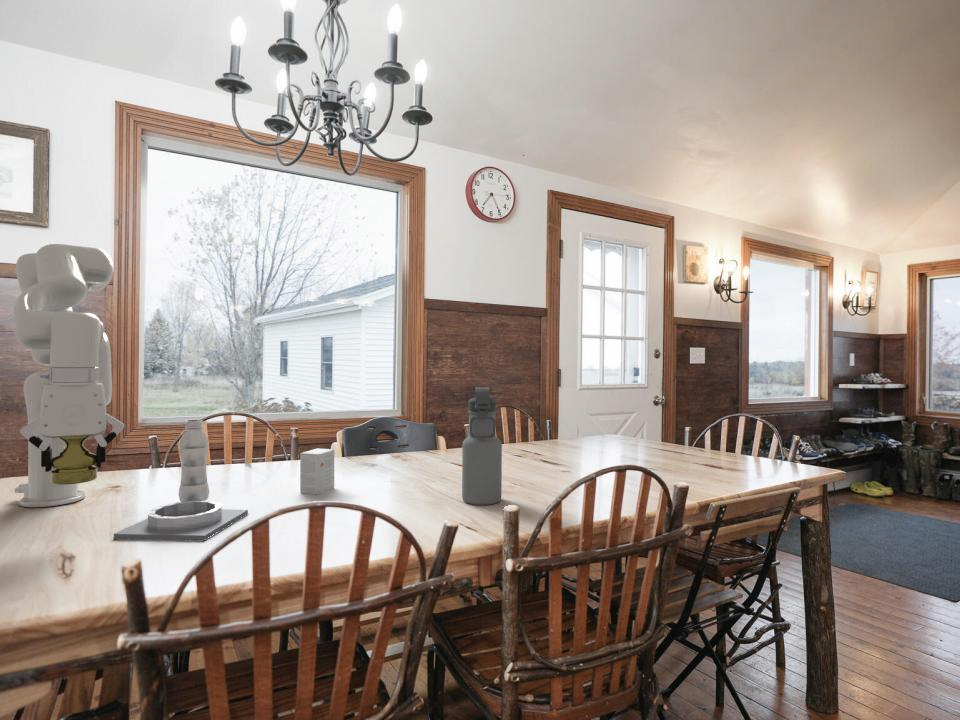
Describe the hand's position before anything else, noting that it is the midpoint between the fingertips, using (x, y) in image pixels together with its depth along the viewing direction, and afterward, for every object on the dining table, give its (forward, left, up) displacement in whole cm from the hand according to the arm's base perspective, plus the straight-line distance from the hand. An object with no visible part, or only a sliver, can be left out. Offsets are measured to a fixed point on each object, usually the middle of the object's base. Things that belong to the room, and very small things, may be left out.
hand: (74, 467), depth 107 cm
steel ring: (+16, +10, -14) cm, 24 cm away
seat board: (+16, +10, -14) cm, 24 cm away
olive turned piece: (0, 0, -3) cm, 3 cm away
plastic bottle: (+8, +27, -14) cm, 31 cm away
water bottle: (+77, +34, -14) cm, 86 cm away
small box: (+33, +42, -14) cm, 55 cm away
